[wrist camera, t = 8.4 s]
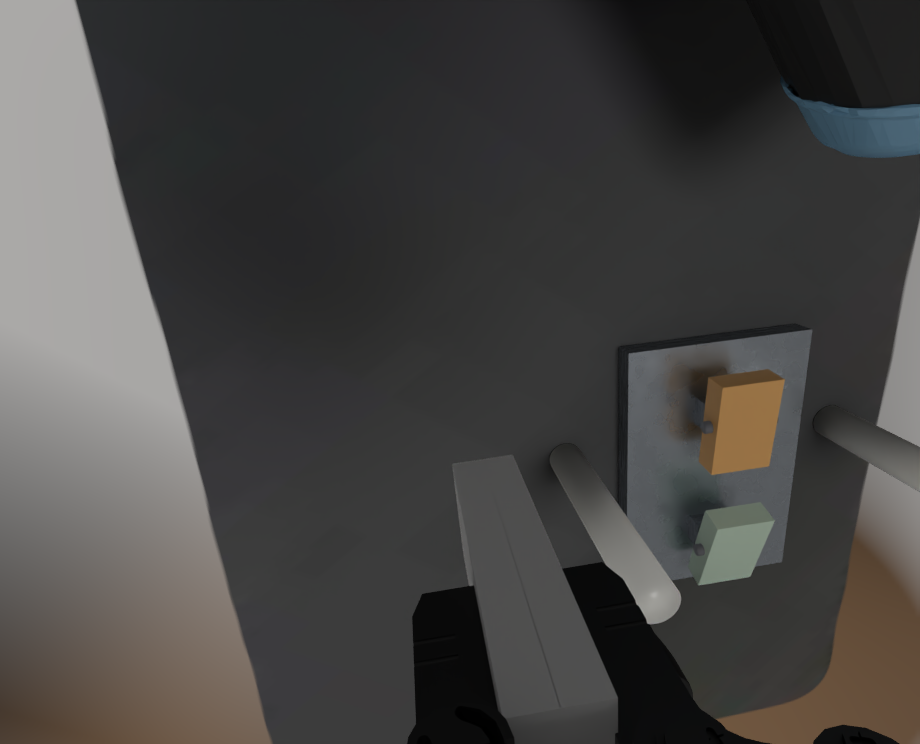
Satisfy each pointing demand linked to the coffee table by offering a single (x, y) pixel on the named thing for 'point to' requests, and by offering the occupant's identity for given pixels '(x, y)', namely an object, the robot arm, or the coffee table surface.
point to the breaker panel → (679, 436)
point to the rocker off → (740, 421)
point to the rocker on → (729, 543)
